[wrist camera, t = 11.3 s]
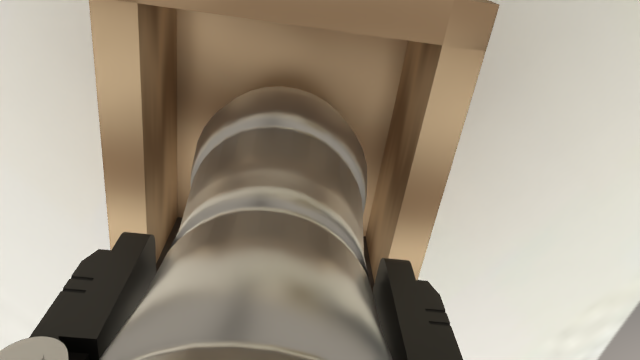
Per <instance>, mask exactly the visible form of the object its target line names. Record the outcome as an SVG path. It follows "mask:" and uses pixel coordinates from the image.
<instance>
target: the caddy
mask: <svg viewBox="0 0 640 360" xmlns="http://www.w3.org/2000/svg"><path fill="white" fill-rule="evenodd" d="M89 6H90V18H91V30H92V41H93V53H94V64H95V76H96V87H97V99H98V110H99V122H100V134H101V145H102V157H103V168H104V180H105V191H106V203H107V214H108V226H109V238H110V249H111V250H112V248H113V247H114V245H115V243H116V242H117V240H118V238H119V237H120V235H121V234H122V233H123V232H131V233H141V234H151V235H154V237H155V247H156V273H157V271H158V269H159V267H160V265H161V263H162V262H163V260H164V258H165V256H166V254H167V252H168V251H169V249H170V247H171V245H172V243H173V241H174V239H175V237H176V235H177V234H178V232H179V228H180V225H181V221H182V218H183V214H184V211H185V207H186V204H187V200H188V197H189V193H190V189H191V170H192V165H193V160H194V155H195V151H196V146H197V141H198V139H199V137H200V135H201V133H202V131H203V129H204V127H205V126H206V124H207V123H208V122H209V121H210V119H211V118H212V117H213V116H214V114H216V113H217V112H218V111H220V110H221V109H222V108H223V107H225V106H226V105H227V104H229V103H230V102H231V101H232V100H234V99H235V98H236V97H238V96H240V95H242V94H244V93H247V92H249V91H251V90H255V89H259V88H263V87H275V86H284V87H290V88H297V89H300V90H303V91H306V92H309V93H312V94H314V95H316V96H317V97H319V98H321V99H323V100H324V101H326V102H328V103H329V104H330V105H331V106H332V107H333V108H335V109H336V110H337V111H338V112H339V113H340V114H341V116H342V117H343V118H344V119H345V121H346V122H347V123H348V125H349V126H350V127H351V129H352V130H353V132H354V133H355V134H356V136H357V138H358V140H359V142H360V144H361V146H362V148H363V152H364V155H365V159H366V163H367V198H366V203H365V208H364V213H363V242H364V259H365V263H366V267H367V271H368V276H369V282H370V286H371V289H372V291H373V287H374V283H375V279H376V275H377V271H378V267H379V263H380V260H381V259H382V258H389V259H399V260H409V261H410V262H411V265H412V268H413V271H414V275H415V278H416V280H417V279H418V276H419V273H420V269H421V266H422V263H423V259H424V256H425V253H426V249H427V246H428V243H429V239H430V236H431V232H432V229H433V226H434V222H435V219H436V216H437V212H438V209H439V206H440V202H441V199H442V196H443V192H444V189H445V186H446V182H447V179H448V176H449V172H450V169H451V165H452V162H453V159H454V155H455V152H456V149H457V145H458V142H459V139H460V135H461V132H462V129H463V125H464V122H465V119H466V115H467V112H468V108H469V105H470V102H471V98H472V95H473V92H474V88H475V85H476V82H477V78H478V75H479V72H480V68H481V65H482V62H483V58H484V55H485V52H486V48H487V45H488V41H489V38H490V35H491V31H492V28H493V25H494V21H495V18H496V15H497V11H498V8H499V4H496V3H493V2H491V1H488V0H89Z"/></svg>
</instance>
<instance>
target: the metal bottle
mask: <svg viewBox="0 0 640 360" xmlns="http://www.w3.org/2000/svg"><path fill="white" fill-rule="evenodd" d="M366 198H367V163H366V159H365V155H364V152H363V148H362V146H361V144H360V142H359V140H358V138H357V136H356V134H355V133H354V132H353V130H352V129H351V127H350V126H349V125H348V123H347V122H346V121H345V119H344V118H343V117H342V116H341V114H340V113H339V112H338V111H337V110H336V109H335V108H333V107H332V106H331V105H330V104H329V103H328V102H326V101H324V100H323V99H321V98H319V97H317V96H316V95H314V94H312V93H309V92H306V91H303V90H300V89H297V88H290V87H284V86H275V87H263V88H259V89H255V90H251V91H249V92H247V93H244V94H242V95H240V96H238V97H236V98H235V99H234V100H232V101H231V102H230V103H229V104H227V105H226V106H225V107H223V108H222V109H221V110H220V111H218V112H217V113H216V114H214V116H213V117H212V118H211V119H210V121H209V122H208V123H207V124H206V126H205V127H204V129H203V131H202V133H201V135H200V137H199V139H198V141H197V146H196V151H195V155H194V160H193V165H192V170H191V189H190V193H189V197H188V200H187V204H186V207H185V211H184V214H183V218H182V221H181V225H180V228H179V232H178V234H177V235H176V237H175V239H174V241H173V243H172V245H171V247H170V249H169V251H168V252H167V254H166V256H165V258H164V260H163V262H162V263H161V265H160V267H159V269H158V271H157V273H156V275H155V277H154V279H153V280H152V282H151V284H150V286H149V288H148V290H147V292H146V294H145V295H144V296H143V298H142V299H141V301H140V302H139V304H138V305H137V306H136V308H135V309H134V311H133V312H132V313H131V315H130V316H129V318H128V319H127V321H126V322H125V323H124V325H123V326H122V328H121V329H120V331H119V332H118V333H117V335H116V336H115V338H114V339H113V340H112V342H111V343H110V345H109V346H108V348H107V349H106V350H105V352H104V353H103V355H102V356H101V358H100V359H99V360H392V357H391V354H390V352H389V349H388V346H387V343H386V341H385V338H384V335H383V332H382V330H381V326H380V322H379V318H378V313H377V309H376V305H375V301H374V296H373V292H372V289H371V286H370V282H369V276H368V271H367V267H366V263H365V259H364V242H363V213H364V208H365V203H366Z"/></svg>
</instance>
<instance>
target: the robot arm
mask: <svg viewBox="0 0 640 360" xmlns="http://www.w3.org/2000/svg"><path fill="white" fill-rule="evenodd" d="M155 275H156V247H155V237H154V235H151V234H141V233H131V232H123V233H122V234H121V235H120V237H119V238H118V240H117V242H116V243H115V245H114V247H113V248H112V250H101V249H99V250H97V251H96V252H94V253H93V254H91V255H90V256H88V257H87V258H86V259H84V260H83V261H81V263H80V264H79V266H78V267H77V269H76V270H75V272H74V273H73V275H72V277H71V279H69V280H68V282H67V283H66V285H65V286H64V288H63V291H61V292H60V294H59V295H58V296H57V298H56V299H55V301H54V302H53V304H52V305H51V307H50V308H49V310H48V311H47V312H46V314H45V315H44V317H43V318H42V320H41V321H40V323H39V324H38V326H37V327H36V328H35V330H34V331H33V333H32V334H31V336H30V337H29V338H26V339H23V340H20V341H17V342H15V343H13V344H11V345H9V346H7V347H5V348H4V349H2V350H1V351H0V360H99V359H100V358H101V356H102V355H103V353H104V352H105V350H106V349H107V348H108V346H109V345H110V343H111V342H112V340H113V339H114V338H115V336H116V335H117V333H118V332H119V331H120V329H121V328H122V326H123V325H124V323H125V322H126V321H127V319H128V318H129V316H130V315H131V313H132V312H133V311H134V309H135V308H136V306H137V305H138V304H139V302H140V301H141V299H142V298H143V296H144V295H145V294H146V292H147V290H148V288H149V286H150V284H151V282H152V280H153V279H154V277H155ZM372 292H373V296H374V301H375V305H376V309H377V313H378V318H379V322H380V326H381V330H382V332H383V335H384V338H385V341H386V343H387V346H388V349H389V352H390V354H391V357H392V360H463V358H462V355H461V353H460V350H459V347H458V344H457V341H456V339H455V336H454V333H453V330H452V328H451V326H450V322H449V319H448V316H447V314H446V313H445V308H444V305H443V302H442V300H441V297H440V295H439V294H438V292H437V291H436V290H435V289H434V288H433V287H432V286H431V284H430V283H429V282H428V281H421V280H416V278H415V275H414V271H413V268H412V265H411V262H410V261H409V260H399V259H389V258H382V259H381V260H380V263H379V267H378V271H377V275H376V279H375V283H374V287H373V291H372Z"/></svg>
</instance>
